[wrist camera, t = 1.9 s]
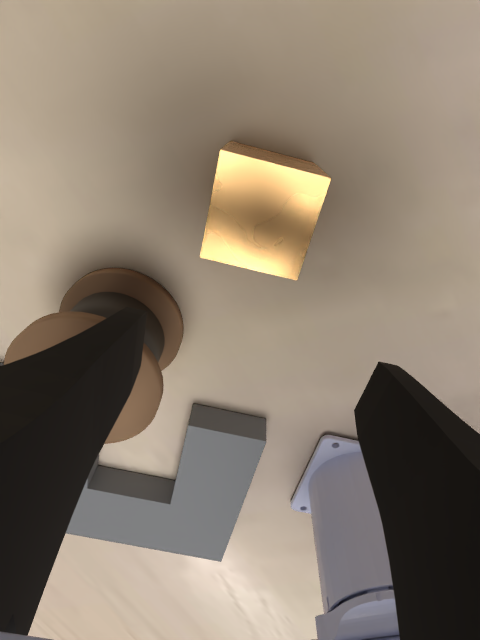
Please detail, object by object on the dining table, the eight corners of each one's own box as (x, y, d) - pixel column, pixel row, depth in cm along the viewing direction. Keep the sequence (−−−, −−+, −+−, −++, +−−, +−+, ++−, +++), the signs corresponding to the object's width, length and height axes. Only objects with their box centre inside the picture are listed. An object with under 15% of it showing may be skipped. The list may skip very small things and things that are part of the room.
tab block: (313, 162, 18) (331, 178, 13) (288, 243, 19) (297, 280, 15) (230, 140, 17) (220, 149, 13) (213, 224, 19) (199, 257, 15)
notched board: (265, 418, 25) (266, 441, 23) (223, 537, 32) (221, 561, 30) (-6, 361, 24) (-27, 380, 22) (9, 497, 31) (-6, 520, 29)
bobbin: (192, 284, 21) (169, 341, 15) (174, 381, 24) (150, 455, 19) (65, 254, 20) (-3, 303, 15) (65, 357, 24) (9, 427, 18)
